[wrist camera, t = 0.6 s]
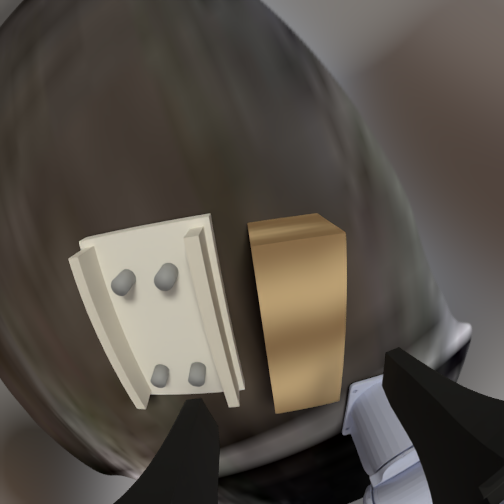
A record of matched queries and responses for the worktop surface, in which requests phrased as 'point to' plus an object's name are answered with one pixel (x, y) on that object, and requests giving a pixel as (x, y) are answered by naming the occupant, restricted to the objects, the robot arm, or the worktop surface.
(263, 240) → the golden brown block
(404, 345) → the worktop surface
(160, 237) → the peg base
